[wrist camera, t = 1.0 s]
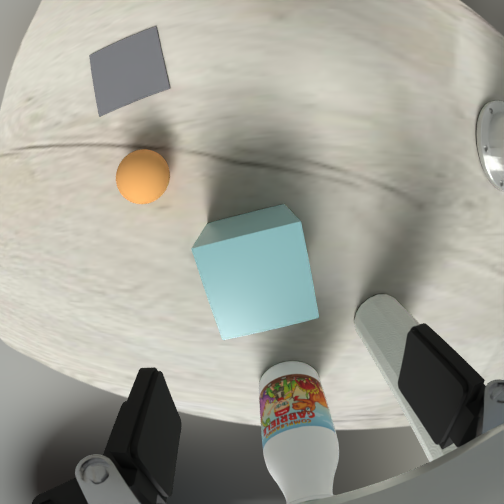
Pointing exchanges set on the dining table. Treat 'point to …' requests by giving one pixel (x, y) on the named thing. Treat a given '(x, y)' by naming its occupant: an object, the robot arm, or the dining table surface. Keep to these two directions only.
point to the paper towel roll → (393, 355)
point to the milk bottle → (297, 432)
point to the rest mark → (128, 71)
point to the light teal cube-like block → (256, 272)
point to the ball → (142, 176)
